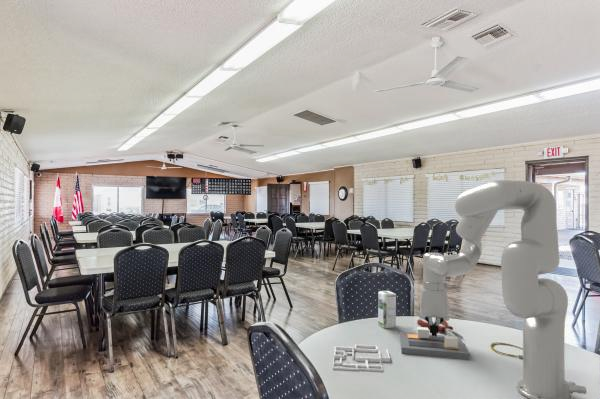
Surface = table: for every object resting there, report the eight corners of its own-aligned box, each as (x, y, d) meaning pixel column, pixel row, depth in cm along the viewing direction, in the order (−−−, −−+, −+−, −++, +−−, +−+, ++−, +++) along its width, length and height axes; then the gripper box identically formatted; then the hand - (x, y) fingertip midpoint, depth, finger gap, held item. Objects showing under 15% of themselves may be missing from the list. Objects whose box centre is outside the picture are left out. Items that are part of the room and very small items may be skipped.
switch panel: (459, 342, 136) (459, 335, 136) (469, 359, 121) (469, 352, 121) (399, 336, 142) (399, 331, 142) (401, 353, 126) (401, 346, 126)
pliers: (446, 342, 137) (446, 335, 137) (415, 324, 158) (415, 318, 158) (473, 340, 140) (473, 333, 140) (439, 322, 160) (439, 316, 160)
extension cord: (513, 364, 118) (513, 358, 118) (483, 346, 134) (483, 340, 134) (546, 362, 120) (546, 356, 120) (512, 344, 136) (512, 339, 136)
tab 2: (456, 344, 127) (456, 336, 128) (457, 347, 125) (457, 339, 125) (444, 343, 128) (444, 335, 128) (445, 346, 125) (445, 338, 126)
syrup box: (377, 324, 156) (377, 291, 157) (389, 323, 158) (389, 290, 158) (384, 328, 151) (384, 294, 151) (396, 327, 153) (396, 293, 153)
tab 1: (428, 335, 136) (428, 327, 136) (429, 338, 133) (428, 330, 133) (417, 334, 137) (417, 326, 137) (417, 337, 134) (417, 329, 134)
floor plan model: (384, 343, 136) (384, 338, 136) (393, 374, 111) (393, 368, 112) (334, 341, 139) (334, 336, 139) (332, 371, 114) (332, 364, 114)
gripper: (453, 285, 137) (453, 333, 136) (412, 282, 140) (412, 330, 140) (457, 289, 129) (457, 340, 129) (413, 287, 133) (413, 336, 133)
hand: (433, 335), depth 134 cm, fingers closed
